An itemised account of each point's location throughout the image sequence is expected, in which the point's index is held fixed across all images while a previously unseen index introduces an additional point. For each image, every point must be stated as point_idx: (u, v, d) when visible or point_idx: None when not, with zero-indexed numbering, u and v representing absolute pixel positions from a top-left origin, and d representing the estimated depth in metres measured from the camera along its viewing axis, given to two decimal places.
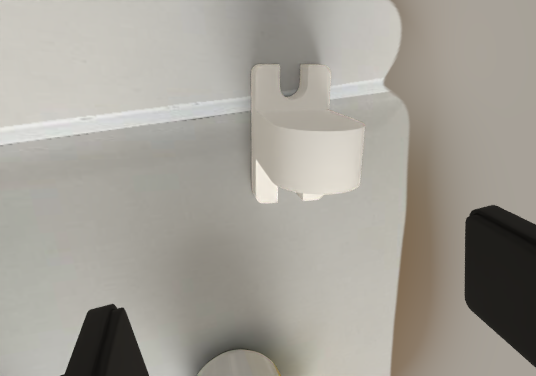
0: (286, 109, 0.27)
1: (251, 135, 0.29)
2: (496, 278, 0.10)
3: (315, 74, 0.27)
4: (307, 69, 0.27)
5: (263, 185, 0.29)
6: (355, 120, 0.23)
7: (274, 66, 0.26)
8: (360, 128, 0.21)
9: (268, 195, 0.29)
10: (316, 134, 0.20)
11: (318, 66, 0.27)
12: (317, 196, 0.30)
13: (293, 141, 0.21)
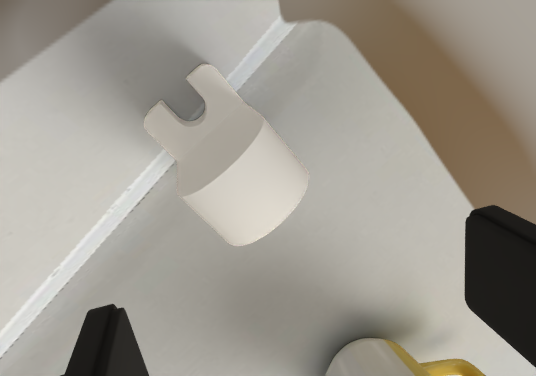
0: (203, 136, 0.23)
1: None
2: (496, 278, 0.10)
3: (201, 82, 0.22)
4: None
5: None
6: (258, 116, 0.18)
7: (156, 109, 0.22)
8: (255, 138, 0.16)
9: None
10: (212, 187, 0.16)
11: (197, 72, 0.22)
12: None
13: (199, 204, 0.17)
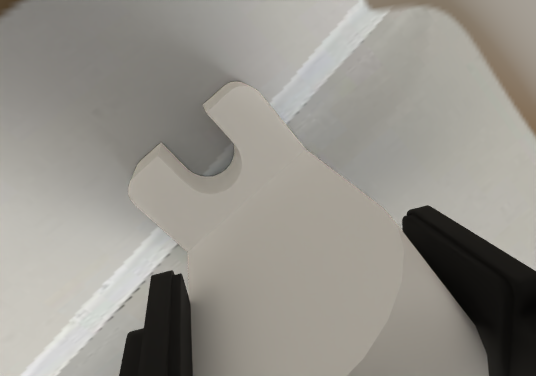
0: (233, 209, 0.13)
1: None
2: None
3: (232, 116, 0.12)
4: None
5: None
6: (368, 204, 0.08)
7: (151, 166, 0.12)
8: (398, 290, 0.06)
9: None
10: None
11: (225, 99, 0.12)
12: None
13: None
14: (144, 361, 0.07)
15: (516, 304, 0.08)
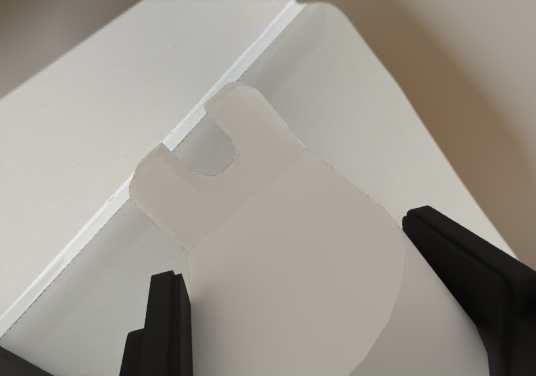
0: (234, 209, 0.13)
1: None
2: None
3: (233, 116, 0.12)
4: None
5: None
6: (368, 204, 0.08)
7: (152, 166, 0.12)
8: (399, 289, 0.06)
9: None
10: None
11: (226, 99, 0.12)
12: None
13: None
14: (144, 361, 0.07)
15: (516, 304, 0.08)
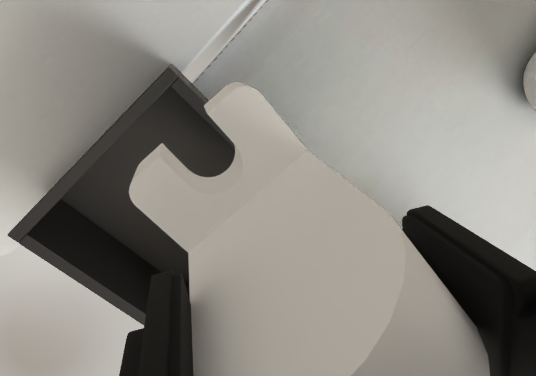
0: (234, 209, 0.13)
1: None
2: None
3: (233, 117, 0.12)
4: (212, 119, 0.12)
5: None
6: (369, 206, 0.08)
7: (152, 167, 0.12)
8: (400, 291, 0.06)
9: None
10: None
11: (226, 100, 0.12)
12: None
13: None
14: (144, 361, 0.07)
15: (516, 304, 0.08)
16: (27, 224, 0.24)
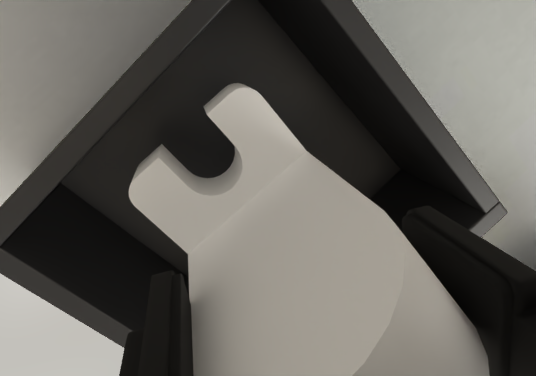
0: (234, 210, 0.13)
1: None
2: None
3: (233, 118, 0.12)
4: (212, 120, 0.12)
5: None
6: (369, 207, 0.08)
7: (152, 167, 0.12)
8: (399, 293, 0.06)
9: None
10: None
11: (226, 101, 0.12)
12: None
13: None
14: (144, 361, 0.07)
15: (516, 304, 0.08)
16: None
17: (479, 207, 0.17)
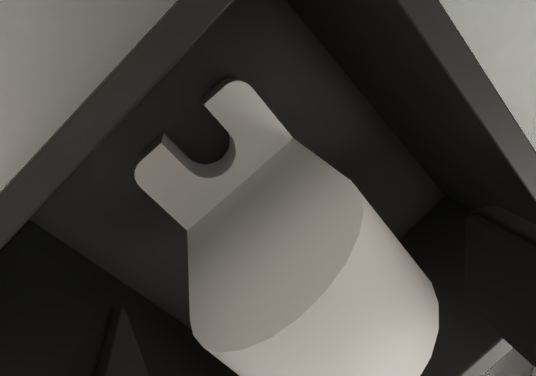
0: (228, 191, 0.15)
1: None
2: (496, 278, 0.10)
3: (227, 108, 0.14)
4: (209, 110, 0.14)
5: None
6: (339, 179, 0.10)
7: (155, 152, 0.14)
8: (356, 240, 0.08)
9: None
10: (267, 347, 0.07)
11: (221, 93, 0.13)
12: None
13: (237, 367, 0.08)
14: None
15: None
16: None
17: None
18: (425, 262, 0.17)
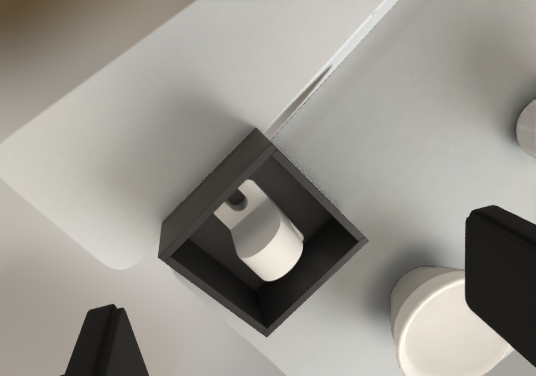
0: (245, 216, 0.41)
1: None
2: (496, 278, 0.10)
3: (245, 188, 0.40)
4: (239, 189, 0.40)
5: None
6: (277, 216, 0.37)
7: None
8: (277, 232, 0.35)
9: None
10: (257, 255, 0.34)
11: (243, 183, 0.40)
12: (301, 239, 0.44)
13: (250, 262, 0.35)
14: None
15: None
16: (171, 249, 0.35)
17: (355, 239, 0.39)
18: (321, 242, 0.44)
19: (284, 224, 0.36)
